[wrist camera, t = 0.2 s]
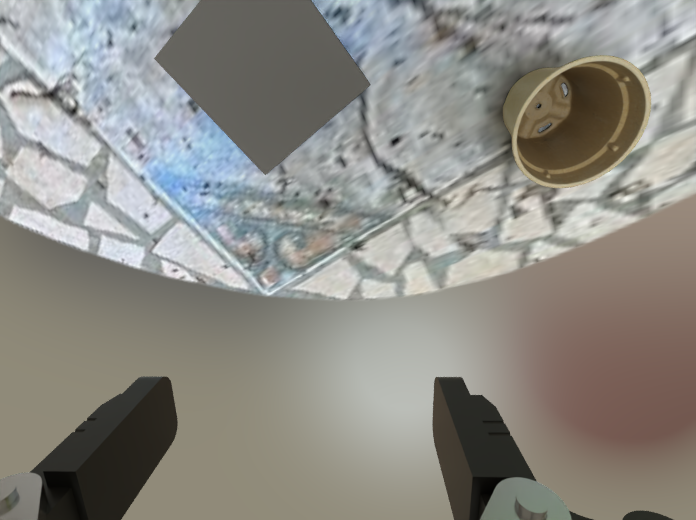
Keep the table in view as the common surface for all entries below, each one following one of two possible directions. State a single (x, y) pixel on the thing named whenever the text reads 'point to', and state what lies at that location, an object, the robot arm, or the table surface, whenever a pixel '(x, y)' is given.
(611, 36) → the table surface
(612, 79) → the flower pot
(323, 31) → the mat
